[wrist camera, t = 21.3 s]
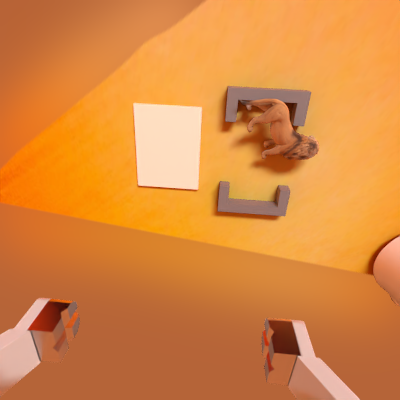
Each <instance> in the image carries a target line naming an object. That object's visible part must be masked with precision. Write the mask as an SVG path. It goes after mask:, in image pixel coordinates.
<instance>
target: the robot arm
mask: <svg viewBox="0 0 400 400" xmlns="http://www.w3.org/2000/svg"><path fill="white" fill-rule="evenodd" d="M373 273H374V277H375V280H376V281H377V283H378V284H379V285H380V286H381V287H382V288H383V289H384V290H386V291H387V292H388V293H389V294H390V297H391V299H392V301H393V302H394V303H395V304H396V305H398V306H400V236H399V237H398V238H396V239H394V240H393V241H391V242H390V243H389V244H388V245H386V246H385V247H384V248H383V249H382V251H381V252H380V253H379V255H378V256H377V258H376V260H375V263H374V267H373ZM76 309H77V304H76V302H74V301H67V300H58V299H49V298H39V299H37V300H36V301H35V303H34V304H33V305H32V307H31V308H30V309H29V310H28V312H27V313H26V314H25V315H24V317H23V318H22V319H21V320H20V322H19V323H18V324H17V326H16V327H15V328H14V329H9V330H7V331H6V332H4V333H2V334H1V335H0V396H1V395H3V394H4V393H5V392H6V391H7V390H9V389H10V388H11V387H12V386H13V385H14V384H16V383H17V382H18V381H19V380H20V379H22V378H23V377H24V376H25V375H26V374H27V373H29V372H30V371H31V370H32V369H33V368H35V367H36V366H37V365H38V364H39V363H40V361H41V362H56V363H61V362H62V360H63V358H64V356H65V354H66V352H67V351H68V349H69V345H68V342H69V341H71V340H72V339H74V337H75V335H76V334H77V332H78V328H79V324H80V318H79V314H77V313H76V312H75V311H76ZM264 325H265V330H264V331H263V333H262V343H261V344H262V355H263V357H264V358H265V359H266V360H265V365H264V369H265V376H266V382H267V383H271V384H279V385H286V386H288V387H289V389H290V391H291V392H292V393H293V395H294V396H295V398H296V399H297V400H360V399H359V398H358V397H357V396H356V395H355V394H354V393H353V392H352V391H351V390H350V389H349V388H348V387H347V386H346V385H345V384H344V383H343V382H342V381H341V380H340V379H339V378H338V376H337V375H335V373H334V372H333V371H332V370H331V369H330V368H329V367H328V366H327V365H326V364H325V363H324V362H323V361H322V360H321V359H320V358H316V357H315V354H314V350H313V347H312V345H311V341H310V338H309V335H308V332H307V329H306V326H305V323H304V322H303V321H297V320H287V319H274V318H266V320H265V324H264Z"/></svg>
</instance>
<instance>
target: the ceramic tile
mask: <svg viewBox="0 0 400 400" xmlns="http://www.w3.org/2000/svg"><path fill="white" fill-rule="evenodd" d="M201 120H202V107H195V106H177V105H160V104H143V103H134V122H135V139H136V157H137V174H138V185H139V186H154V187H168V188H182V189H196V190H198V183H199V162H200V141H201Z"/></svg>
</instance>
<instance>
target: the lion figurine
mask: <svg viewBox="0 0 400 400" xmlns="http://www.w3.org/2000/svg"><path fill="white" fill-rule="evenodd" d="M240 102H241V104H242V105H246V107H247V109H248V110H251V109H252V107H251V106H253V105H254V106H257V107H259V108H260V109H262V110H264V111H265V112H264V113H263V114H262V115H261V116H259V117H254V118H253V119H252V120H251V121H250V123H249V124H248V126H247V129H248V131H249V132H251V131H252V130H253V125H254V124H256V123H271V125H270V132H271V136H272V138H273V139H271V140H266V141H264V147H265V148H267V147H268V146H269V145H272V144H277V145H276V146H275V147H274V148H273V149H270V150H265V151H264V152H262V158H263V159H265V158H266V155H277V154H281V155H283V157H285V158H287V159H289V160H302V159H303V160H304V159H309V158H312V157H313V156H314V155H315V154H317V153H318V150H319V143H318V141H317V140H316V139H315V138H314V137H313V136H309V137H307V136H304V135H303V134H301V135H300V134H299V133H296V132H295V131H294V130H293V127H292V125H291V122H290V118H289V110H288V107H287V106H286V104H285V103H284V102H282V101H280V100H278V99H271V98H270V99H261V100H254V101H250V102H246V101H242V100H240Z"/></svg>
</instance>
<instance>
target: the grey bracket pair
mask: <svg viewBox="0 0 400 400" xmlns="http://www.w3.org/2000/svg"><path fill="white" fill-rule="evenodd" d="M310 95H311V92H310V91H307V90H288V89H270V88H252V87H234V86H228V91H227V103H226V115H225V121H226V122H236V117H237V107H238V100H252V101H254V100H261V99H270V98H271V99H278V100H280V101H282V102H287V103H294V104H293V109H292V115H291V120H290V122H291V124H292V125H293V126H304V124H305V119H306V114H307V109H308V105H309V100H310ZM228 195H229V182H222V181H220V186H219V198H218V211H221V212H235V213H248V214H262V215H275V216H285V214H286V210H287V205H288V200H289V195H290V189H289V188H288V186H280V185H278V190H277V195H276V201H275V202H270V201H256V200H242V199H229V198H228Z"/></svg>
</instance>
